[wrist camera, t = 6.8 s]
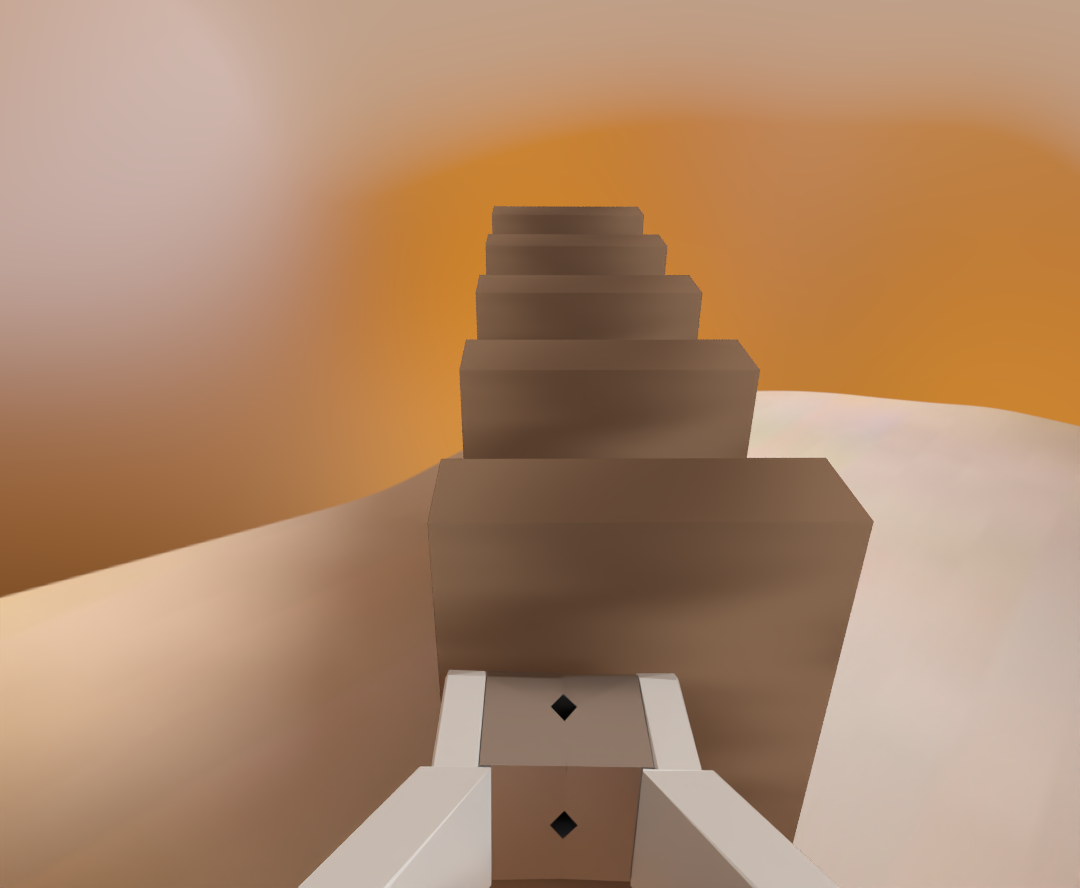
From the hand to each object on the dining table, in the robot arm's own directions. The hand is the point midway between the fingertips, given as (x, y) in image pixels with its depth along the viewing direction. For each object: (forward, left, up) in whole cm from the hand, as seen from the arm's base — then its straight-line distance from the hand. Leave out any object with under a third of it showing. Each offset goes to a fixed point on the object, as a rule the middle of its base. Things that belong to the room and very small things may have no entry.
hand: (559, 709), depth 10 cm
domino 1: (-1, -2, -13) cm, 13 cm away
